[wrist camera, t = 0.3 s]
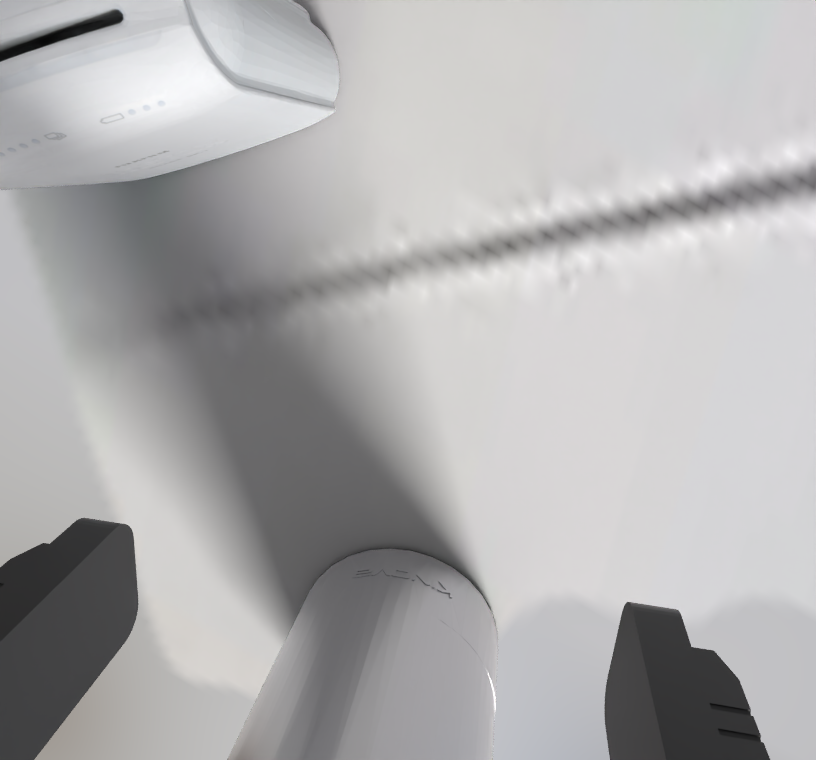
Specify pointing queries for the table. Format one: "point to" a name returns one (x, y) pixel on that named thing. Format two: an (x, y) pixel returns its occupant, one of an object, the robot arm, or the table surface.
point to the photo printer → (152, 85)
